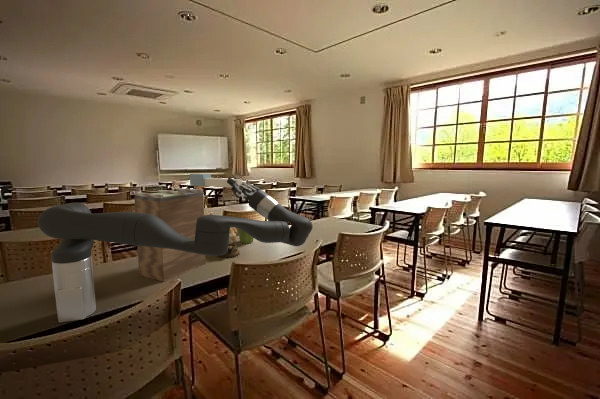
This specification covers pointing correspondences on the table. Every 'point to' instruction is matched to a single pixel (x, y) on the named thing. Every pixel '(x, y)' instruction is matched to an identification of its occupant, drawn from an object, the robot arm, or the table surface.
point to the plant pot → (244, 237)
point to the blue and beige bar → (210, 181)
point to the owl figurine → (231, 245)
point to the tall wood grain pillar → (182, 218)
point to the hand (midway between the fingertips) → (231, 179)
